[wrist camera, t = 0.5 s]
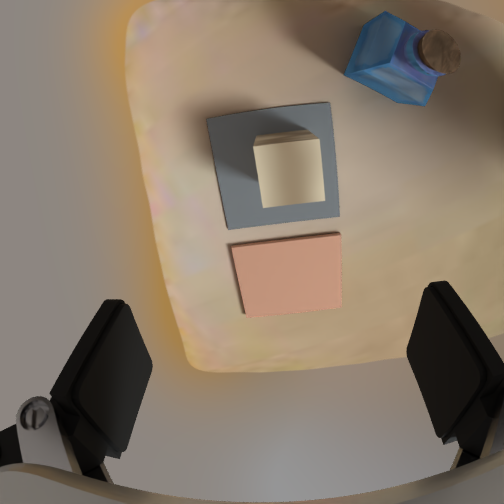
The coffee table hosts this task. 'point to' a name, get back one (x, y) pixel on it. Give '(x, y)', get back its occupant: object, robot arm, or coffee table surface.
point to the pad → (290, 275)
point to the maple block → (289, 168)
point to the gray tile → (245, 171)
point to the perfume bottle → (402, 59)
